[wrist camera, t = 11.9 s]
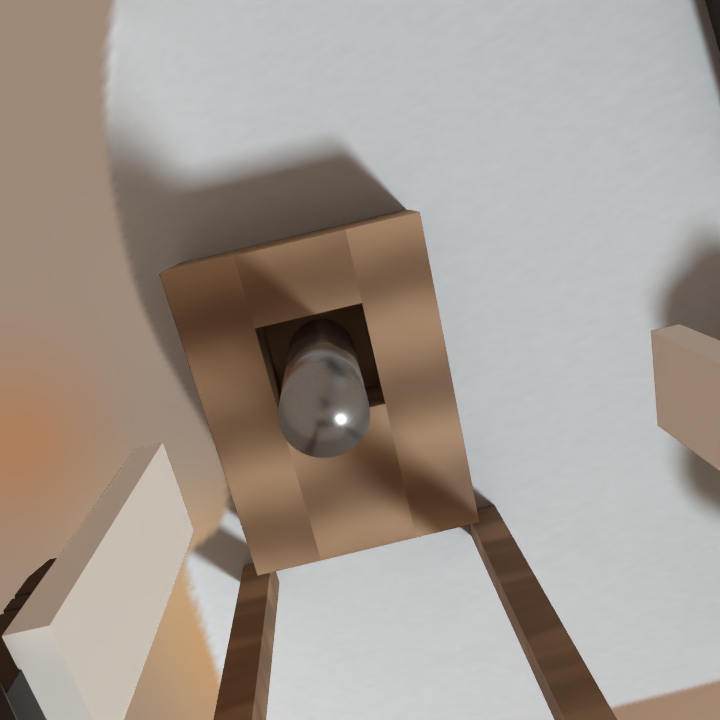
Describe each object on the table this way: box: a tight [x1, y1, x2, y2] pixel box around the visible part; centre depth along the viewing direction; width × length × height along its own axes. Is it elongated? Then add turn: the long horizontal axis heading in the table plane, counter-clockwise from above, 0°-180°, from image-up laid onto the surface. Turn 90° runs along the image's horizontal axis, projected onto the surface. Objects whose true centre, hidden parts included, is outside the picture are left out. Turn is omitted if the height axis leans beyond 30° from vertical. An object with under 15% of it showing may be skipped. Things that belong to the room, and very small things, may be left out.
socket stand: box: [160, 210, 617, 720], centre depth 26 cm, size 25×18×26 cm
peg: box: [278, 319, 370, 458], centre depth 31 cm, size 4×4×11 cm
